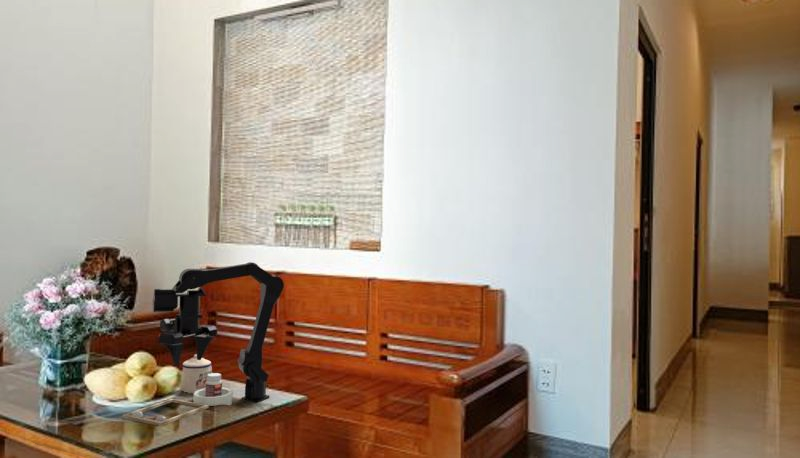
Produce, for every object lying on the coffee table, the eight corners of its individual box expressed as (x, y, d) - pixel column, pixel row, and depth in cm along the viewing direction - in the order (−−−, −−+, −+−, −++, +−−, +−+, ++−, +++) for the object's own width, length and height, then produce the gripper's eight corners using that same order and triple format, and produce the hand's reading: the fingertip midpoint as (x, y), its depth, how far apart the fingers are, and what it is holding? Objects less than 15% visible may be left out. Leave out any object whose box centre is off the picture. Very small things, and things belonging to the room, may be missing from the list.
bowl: (211, 397, 187) (211, 385, 187) (239, 402, 183) (239, 390, 183) (185, 407, 177) (186, 394, 177) (214, 412, 173) (215, 399, 173)
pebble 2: (160, 424, 162) (161, 413, 162) (169, 426, 161) (169, 415, 161) (152, 427, 159) (152, 416, 159) (160, 429, 158) (160, 418, 158)
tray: (171, 405, 178) (172, 398, 178) (208, 412, 173) (208, 405, 173) (121, 423, 162) (122, 415, 162) (160, 431, 156) (160, 423, 156)
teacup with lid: (198, 395, 190) (199, 358, 190) (175, 391, 193) (176, 356, 193) (221, 386, 201) (222, 351, 201) (199, 383, 204) (200, 349, 204)
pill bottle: (216, 405, 177) (217, 377, 177) (202, 403, 179) (202, 375, 178) (224, 400, 182) (225, 373, 182) (210, 399, 183) (211, 372, 183)
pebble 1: (137, 419, 165) (137, 408, 165) (145, 421, 164) (145, 410, 164) (128, 422, 162) (129, 411, 162) (136, 424, 161) (137, 413, 161)
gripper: (191, 305, 190) (190, 354, 190) (144, 312, 173) (143, 365, 173) (218, 308, 186) (217, 358, 186) (173, 315, 169) (172, 370, 169)
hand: (188, 362), depth 179 cm, fingers open, 9 cm apart
